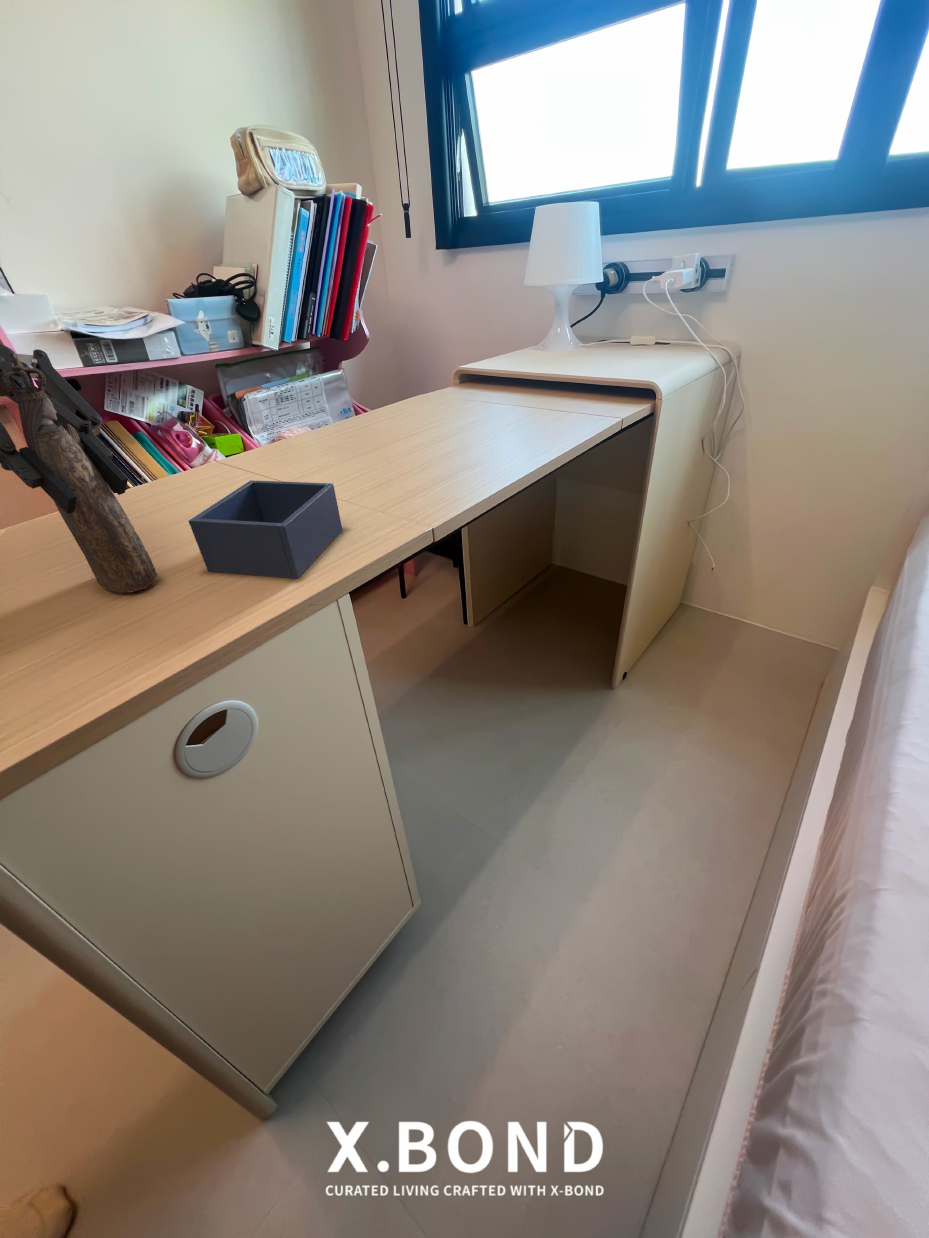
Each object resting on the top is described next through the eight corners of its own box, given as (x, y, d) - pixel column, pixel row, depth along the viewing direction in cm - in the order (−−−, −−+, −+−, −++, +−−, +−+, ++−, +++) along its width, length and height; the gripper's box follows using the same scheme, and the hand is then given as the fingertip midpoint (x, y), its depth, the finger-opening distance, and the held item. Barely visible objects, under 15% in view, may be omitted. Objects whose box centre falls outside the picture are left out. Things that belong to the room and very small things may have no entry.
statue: (176, 557, 65) (53, 344, 49) (147, 594, 60) (-4, 368, 43) (114, 561, 66) (-29, 353, 49) (79, 598, 60) (-95, 377, 44)
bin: (207, 571, 64) (187, 520, 60) (263, 526, 75) (250, 480, 71) (298, 579, 61) (284, 526, 57) (342, 530, 72) (333, 483, 68)
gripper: (21, 335, 60) (165, 487, 63) (-188, 360, 47) (6, 550, 50) (21, 280, 55) (178, 449, 58) (-214, 291, 42) (4, 507, 45)
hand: (98, 495), depth 54 cm, fingers closed on statue, 5 cm apart
